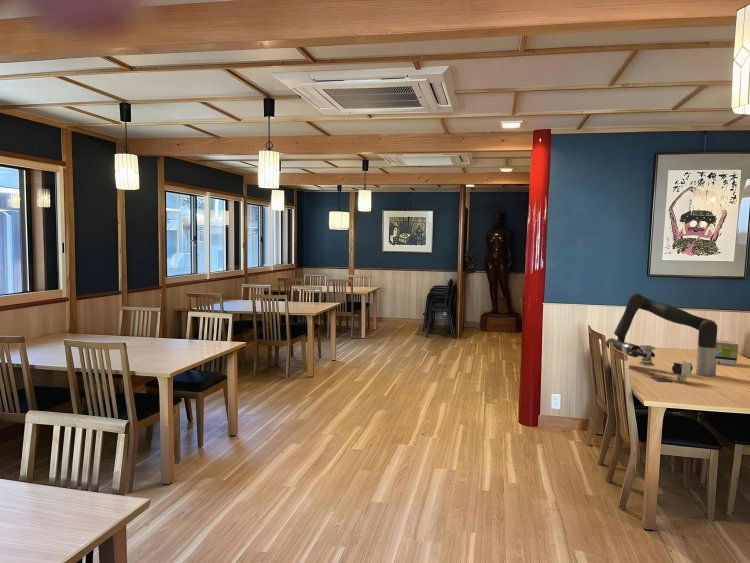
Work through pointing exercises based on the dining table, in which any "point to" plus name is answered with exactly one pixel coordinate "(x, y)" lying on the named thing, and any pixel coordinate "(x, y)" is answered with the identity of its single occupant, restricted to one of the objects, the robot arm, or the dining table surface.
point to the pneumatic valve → (682, 370)
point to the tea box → (726, 352)
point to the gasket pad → (660, 379)
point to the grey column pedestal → (647, 350)
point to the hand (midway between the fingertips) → (650, 355)
